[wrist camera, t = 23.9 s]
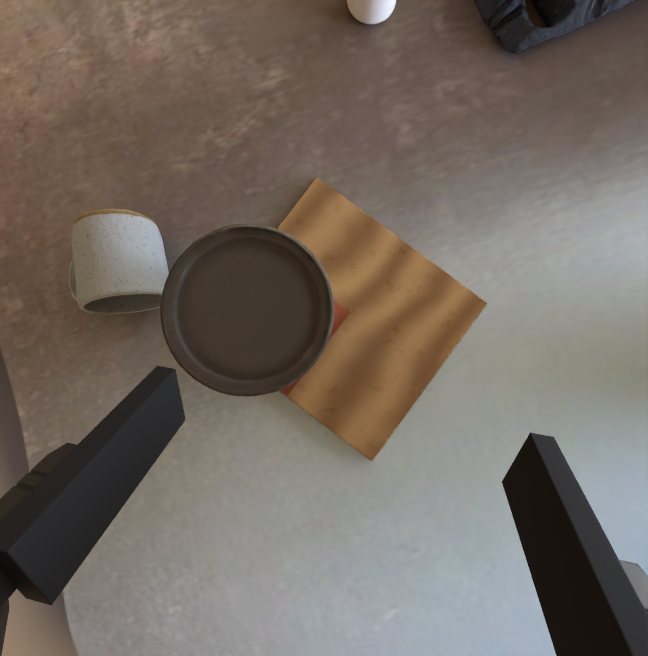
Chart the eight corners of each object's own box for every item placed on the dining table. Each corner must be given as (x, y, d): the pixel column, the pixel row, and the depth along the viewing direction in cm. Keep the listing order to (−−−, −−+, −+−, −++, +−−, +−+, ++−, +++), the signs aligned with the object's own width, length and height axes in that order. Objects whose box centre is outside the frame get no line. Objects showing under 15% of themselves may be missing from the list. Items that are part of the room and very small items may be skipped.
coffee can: (333, 368, 33) (342, 387, 19) (231, 378, 33) (166, 405, 19) (323, 267, 34) (325, 215, 20) (223, 277, 34) (152, 231, 20)
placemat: (484, 303, 35) (488, 302, 34) (371, 459, 34) (372, 462, 33) (316, 179, 35) (316, 175, 34) (200, 330, 34) (197, 329, 34)
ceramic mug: (171, 226, 35) (127, 194, 27) (187, 302, 34) (147, 291, 27) (72, 249, 35) (0, 223, 27) (87, 325, 34) (19, 320, 27)
